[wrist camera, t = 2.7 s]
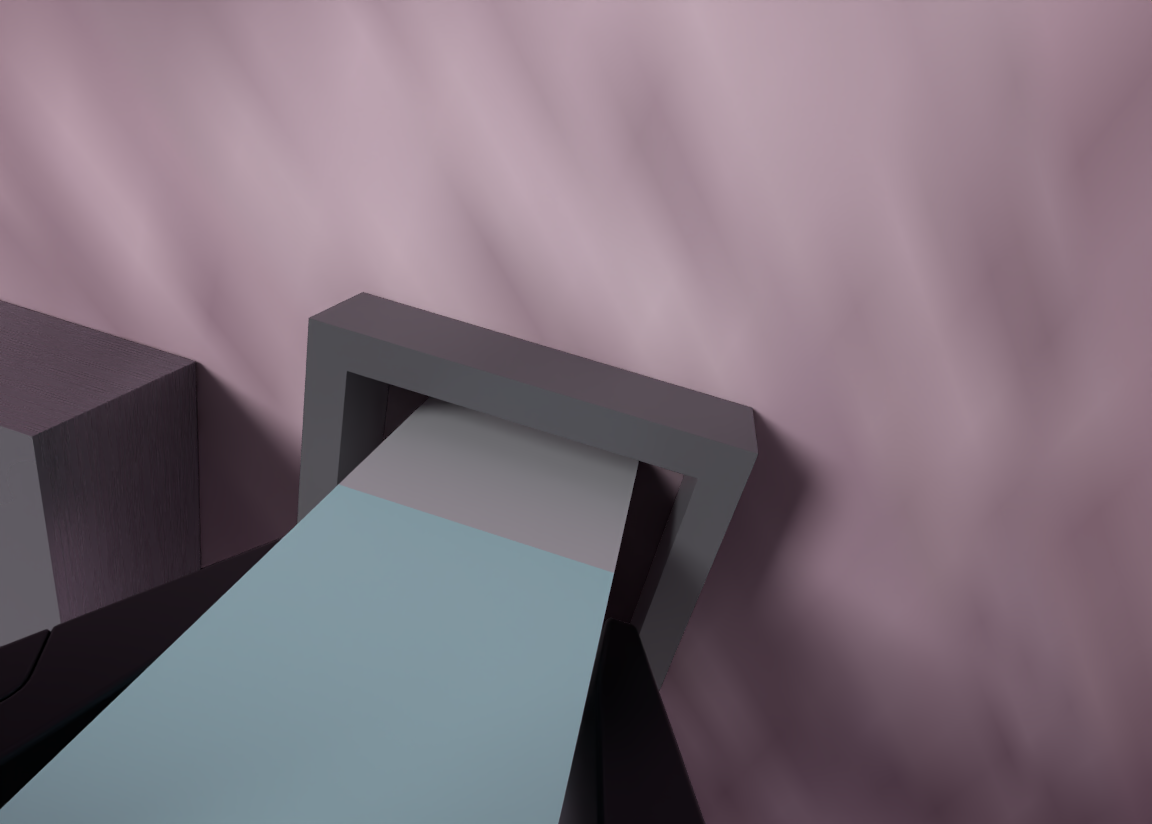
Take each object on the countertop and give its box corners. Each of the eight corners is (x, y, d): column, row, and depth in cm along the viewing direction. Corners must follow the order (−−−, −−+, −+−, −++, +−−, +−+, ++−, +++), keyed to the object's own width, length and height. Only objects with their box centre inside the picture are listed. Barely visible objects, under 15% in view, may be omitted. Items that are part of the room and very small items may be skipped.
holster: (752, 407, 10) (758, 453, 8) (638, 694, 12) (629, 763, 11) (362, 292, 10) (308, 317, 9) (335, 592, 13) (290, 647, 11)
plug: (640, 456, 10) (473, 1203, 3) (587, 617, 12) (394, 1370, 5) (433, 393, 11) (-149, 951, 3) (407, 559, 12) (-34, 1186, 5)
